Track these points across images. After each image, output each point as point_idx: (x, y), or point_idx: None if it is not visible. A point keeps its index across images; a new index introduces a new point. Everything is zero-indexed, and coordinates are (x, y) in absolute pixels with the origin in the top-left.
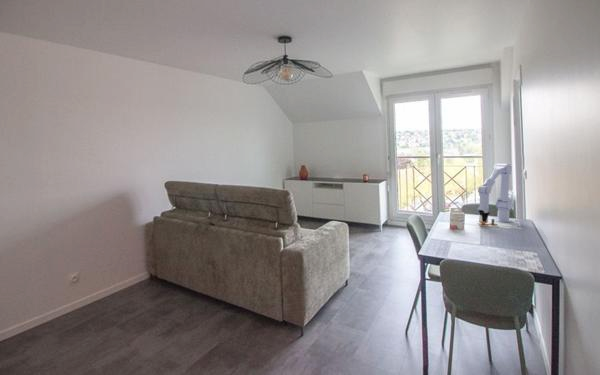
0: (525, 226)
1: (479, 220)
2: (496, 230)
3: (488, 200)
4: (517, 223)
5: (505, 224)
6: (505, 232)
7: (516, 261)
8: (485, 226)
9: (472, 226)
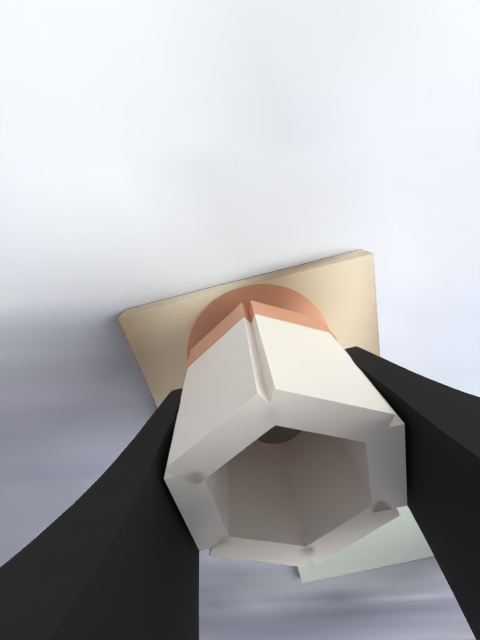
0: (351, 626)
1: (240, 323)
2: (49, 486)
3: None
4: None
5: (371, 536)
6: (13, 550)
7: None
8: (150, 382)
9: (107, 178)
